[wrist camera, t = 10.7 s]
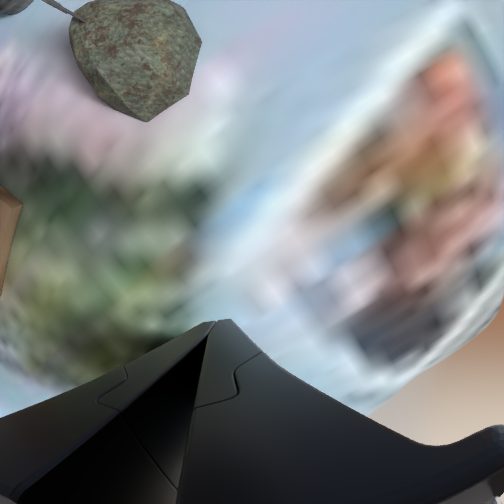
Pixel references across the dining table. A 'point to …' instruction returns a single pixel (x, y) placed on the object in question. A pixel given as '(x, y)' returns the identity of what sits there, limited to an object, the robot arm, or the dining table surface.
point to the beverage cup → (13, 6)
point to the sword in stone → (135, 52)
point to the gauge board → (7, 227)
